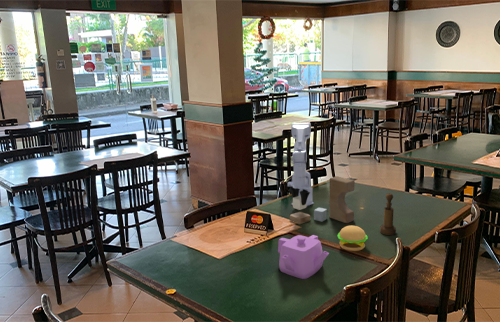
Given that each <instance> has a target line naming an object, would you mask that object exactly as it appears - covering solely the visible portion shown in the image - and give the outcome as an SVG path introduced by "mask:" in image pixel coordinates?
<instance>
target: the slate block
mask: <svg viewBox="0 0 500 322" xmlns="http://www.w3.org/2000/svg"><path fill="white" fill-rule="evenodd" d="M327 219H328V209H327V208H323V207H317V208H315V209H314V210H313V220H314V221H318V222H324V221H326V220H327Z"/></svg>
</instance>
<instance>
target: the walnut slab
mask: <svg viewBox="0 0 500 322" xmlns="http://www.w3.org/2000/svg"><path fill="white" fill-rule="evenodd" d="M289 221H291V222H293V221H294V222H293V223H295V224H298V225H301V224H304V223H308V222H310V221H311V215H310V214H309V213H306V212H303V211H298V212H295V213H291V214H290V215H289Z"/></svg>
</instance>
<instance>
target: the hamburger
mask: <svg viewBox="0 0 500 322" xmlns="http://www.w3.org/2000/svg"><path fill="white" fill-rule="evenodd" d="M337 239H338V240H339V245H340V247H341V248H342V249H343V250H346V251H348V252H359V251H361V250H364V248H365V246H366V241H367V240H368V235H367V234H366V232H365V230H364V229H362V228H361V227H359V226H358V225H346V226H344V227H343V228H341V230H340V231H339V232H338V233H337Z"/></svg>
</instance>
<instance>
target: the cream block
mask: <svg viewBox="0 0 500 322" xmlns="http://www.w3.org/2000/svg"><path fill="white" fill-rule="evenodd" d="M292 203H293V205H292V208H293V209H296V210H298V211H299V210H300V211H301V210H304V209H306V208H307V206H306V204H305V205H302V203H301V196H297V197H294V198H293V197H292Z"/></svg>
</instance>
